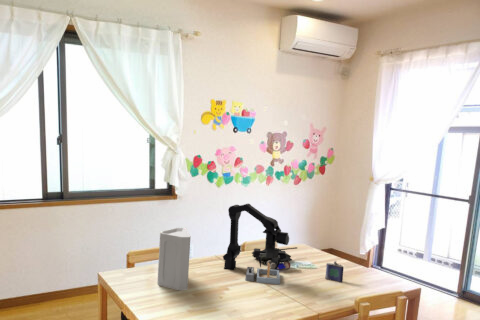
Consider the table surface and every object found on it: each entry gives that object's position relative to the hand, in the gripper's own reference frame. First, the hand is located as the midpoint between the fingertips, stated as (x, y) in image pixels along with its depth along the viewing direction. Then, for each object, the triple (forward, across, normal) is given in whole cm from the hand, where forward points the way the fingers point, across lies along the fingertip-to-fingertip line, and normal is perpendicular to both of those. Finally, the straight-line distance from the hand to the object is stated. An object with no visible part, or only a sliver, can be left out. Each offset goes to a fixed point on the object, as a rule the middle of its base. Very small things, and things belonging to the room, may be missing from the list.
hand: (268, 267), depth 199 cm
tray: (+7, 0, 0) cm, 7 cm away
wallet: (+7, +40, +7) cm, 41 cm away
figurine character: (+7, +8, +17) cm, 20 cm away
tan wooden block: (+6, 0, 0) cm, 6 cm away
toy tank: (+7, +7, +35) cm, 36 cm away
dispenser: (+7, -10, 0) cm, 12 cm away
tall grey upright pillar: (+7, -52, -17) cm, 56 cm away
